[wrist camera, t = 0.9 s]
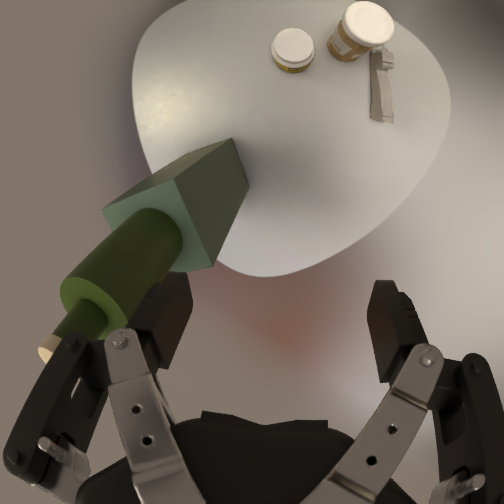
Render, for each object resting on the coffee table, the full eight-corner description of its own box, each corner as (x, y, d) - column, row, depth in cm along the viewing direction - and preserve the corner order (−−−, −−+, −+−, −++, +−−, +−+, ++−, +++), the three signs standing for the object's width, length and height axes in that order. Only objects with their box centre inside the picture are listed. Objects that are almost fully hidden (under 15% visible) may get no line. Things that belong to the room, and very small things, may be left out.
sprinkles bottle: (361, 64, 27) (397, 48, 16) (327, 60, 28) (346, 39, 17) (360, 33, 25) (393, 5, 14) (326, 29, 26) (343, -4, 14)
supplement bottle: (288, 80, 30) (287, 73, 23) (266, 52, 29) (259, 39, 22) (318, 62, 28) (326, 51, 21) (297, 34, 27) (298, 17, 20)
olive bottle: (117, 218, 21) (8, 328, 10) (165, 199, 19) (46, 326, 8) (144, 268, 23) (63, 390, 12) (192, 257, 22) (117, 402, 11)
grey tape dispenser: (369, 117, 31) (368, 48, 26) (379, 119, 31) (378, 49, 26) (382, 122, 26) (381, 41, 21) (393, 123, 26) (392, 43, 21)
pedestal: (183, 155, 37) (101, 209, 20) (231, 137, 35) (173, 178, 18) (202, 201, 41) (140, 282, 24) (249, 187, 39) (213, 266, 22)
